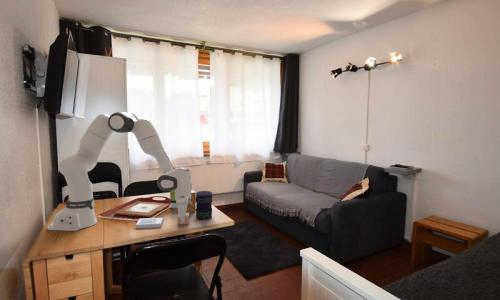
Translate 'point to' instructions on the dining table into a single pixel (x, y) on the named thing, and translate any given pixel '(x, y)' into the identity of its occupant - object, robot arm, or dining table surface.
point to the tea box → (172, 198)
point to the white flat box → (149, 222)
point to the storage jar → (203, 205)
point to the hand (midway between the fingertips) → (183, 219)
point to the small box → (192, 203)
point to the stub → (185, 219)
